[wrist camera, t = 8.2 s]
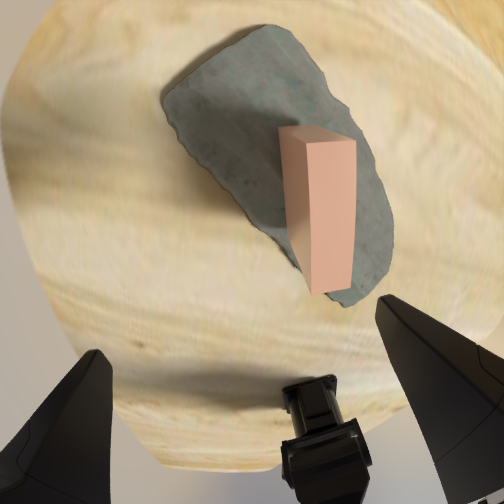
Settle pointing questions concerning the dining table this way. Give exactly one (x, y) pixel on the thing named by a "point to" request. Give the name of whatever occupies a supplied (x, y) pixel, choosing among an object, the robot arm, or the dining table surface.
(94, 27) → the dining table surface
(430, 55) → the dining table surface
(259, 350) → the dining table surface
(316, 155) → the block
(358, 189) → the stone slab
